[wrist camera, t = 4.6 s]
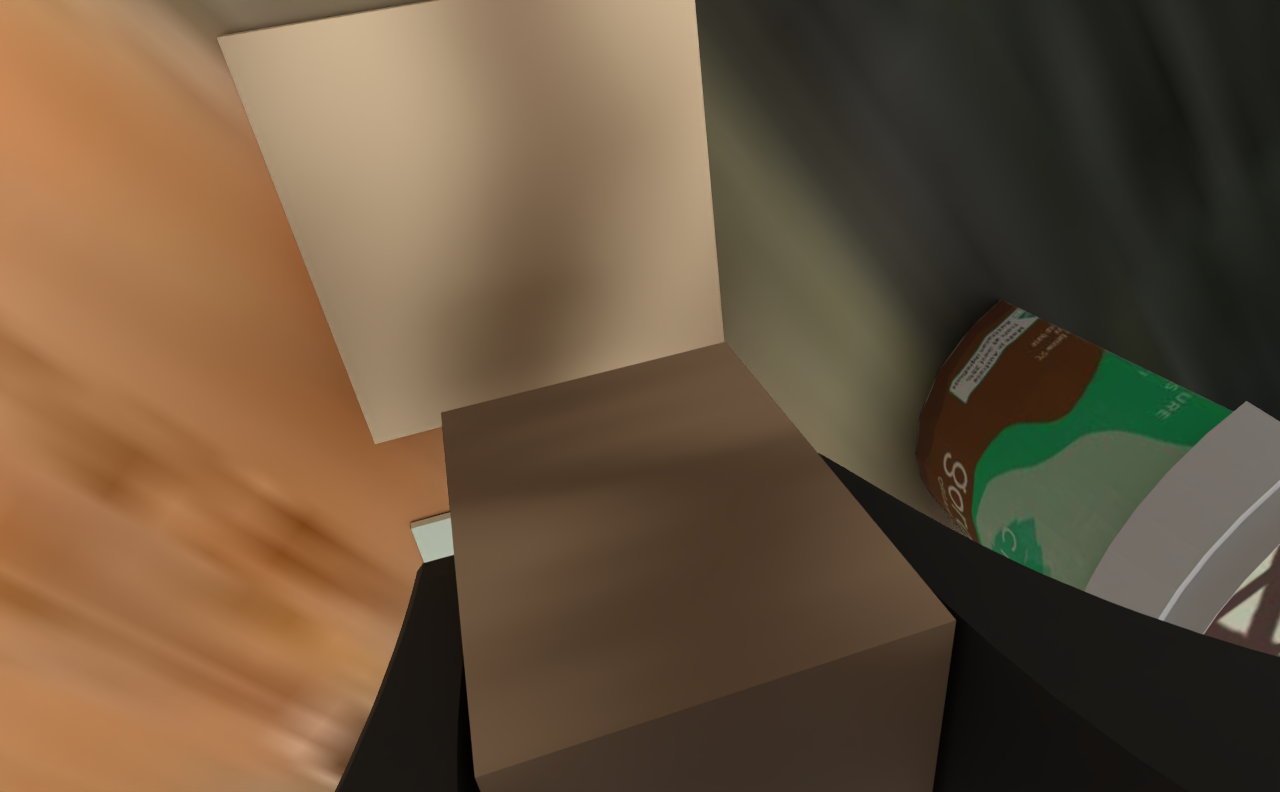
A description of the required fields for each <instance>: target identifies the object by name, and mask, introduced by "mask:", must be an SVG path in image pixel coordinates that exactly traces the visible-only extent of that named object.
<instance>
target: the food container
mask: <svg viewBox="0 0 1280 792" xmlns="http://www.w3.org/2000/svg"><path fill="white" fill-rule="evenodd" d="M916 457H917V461H918V465H919V469H920V473H921V477H922V480H923V481H924V483H925V485H926V487H927V488H928V490H929V492H930V493H931V494H932V495H933V496H934V498H935V499H936V500H937V501H938V502H939V503H940V505H941V506H942V507H943V508H944V509H945V511H946V512H947V513H948V514H949V515H950V516H951V518H952V519H953V520H954V521H955V522H956V524H957V525H958V526H959V527H960V528H961V530H962V531H963V532H964V533H965V534H966V535H967V537H968V538H969V539H971V540H973V541H975V542H977V543H979V544H981V545H983V546H985V547H987V548H989V549H991V550H993V551H995V552H997V553H999V554H1001V555H1003V556H1005V557H1007V558H1009V559H1011V560H1013V561H1016V562H1018V563H1020V564H1022V565H1024V566H1026V567H1028V568H1031V569H1033V570H1035V571H1037V572H1039V573H1042V574H1044V575H1046V576H1048V577H1051V578H1053V579H1056V580H1058V581H1060V582H1063V583H1065V584H1068V585H1070V586H1073V587H1075V588H1077V589H1080V590H1082V591H1085V592H1087V593H1090V594H1092V595H1094V596H1097V597H1099V598H1102V599H1104V600H1107V601H1109V602H1112V603H1115V604H1117V605H1120V606H1123V607H1125V608H1128V609H1131V610H1134V611H1136V612H1139V613H1142V614H1145V615H1148V616H1151V617H1154V618H1156V619H1159V620H1162V621H1165V622H1168V623H1171V624H1174V625H1177V626H1180V627H1183V628H1186V629H1189V630H1192V631H1195V632H1197V633H1200V634H1204V635H1207V636H1210V637H1213V638H1216V639H1220V640H1223V641H1226V642H1230V643H1233V644H1236V645H1239V646H1243V647H1246V648H1249V649H1253V650H1256V651H1260V652H1264V653H1267V654H1271V655H1274V656H1278V657H1280V422H1279V421H1278V420H1276V419H1274V418H1273V417H1271V416H1270V415H1268V414H1266V413H1265V412H1263V411H1262V410H1260V409H1258V408H1257V407H1255V406H1254V405H1252V404H1250V403H1249V402H1247V401H1246V402H1245V403H1244V404H1242V405H1241V406H1240V407H1239V408H1238V409H1236V410H1235V411H1234V412H1233V411H1231V410H1229V409H1227V408H1225V407H1223V406H1220V405H1218V404H1216V403H1214V402H1212V401H1210V400H1208V399H1206V398H1204V397H1202V396H1200V395H1198V394H1196V393H1194V392H1192V391H1190V390H1187V389H1185V388H1183V387H1181V386H1179V385H1177V384H1175V383H1173V382H1171V381H1169V380H1167V379H1165V378H1163V377H1161V376H1159V375H1156V374H1154V373H1152V372H1150V371H1148V370H1146V369H1144V368H1142V367H1140V366H1138V365H1136V364H1134V363H1132V362H1130V361H1128V360H1126V359H1123V358H1121V357H1119V356H1117V355H1115V354H1113V353H1111V352H1109V351H1107V350H1105V349H1103V348H1101V347H1099V346H1097V345H1095V344H1092V343H1090V342H1088V341H1086V340H1084V339H1082V338H1080V337H1078V336H1076V335H1074V334H1072V333H1070V332H1068V331H1066V330H1064V329H1061V328H1059V327H1057V326H1055V325H1053V324H1051V323H1049V322H1047V321H1045V320H1043V319H1041V318H1039V317H1037V316H1035V315H1033V314H1031V313H1028V312H1026V311H1024V310H1022V309H1020V308H1018V307H1016V306H1014V305H1012V304H1010V303H1008V302H1006V301H1004V300H1002V299H1001V300H1000V301H999V302H998V303H996V304H995V305H994V306H993V307H992V308H991V309H990V310H989V311H988V312H987V313H986V314H985V315H983V316H982V317H981V318H980V319H979V320H978V321H977V322H976V323H975V324H974V325H973V326H972V327H970V329H969V330H968V332H967V333H966V334H965V336H964V337H963V338H962V340H961V341H960V342H959V344H958V345H957V346H956V348H955V349H954V351H953V352H952V353H951V355H950V356H949V357H948V359H947V360H946V361H945V363H944V364H943V365H942V367H941V368H940V370H939V371H938V373H937V376H936V378H935V380H934V383H933V385H932V388H931V390H930V392H929V395H928V397H927V399H926V402H925V404H924V406H923V409H922V411H921V413H920V419H919V428H918V437H917V446H916Z"/></svg>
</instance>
